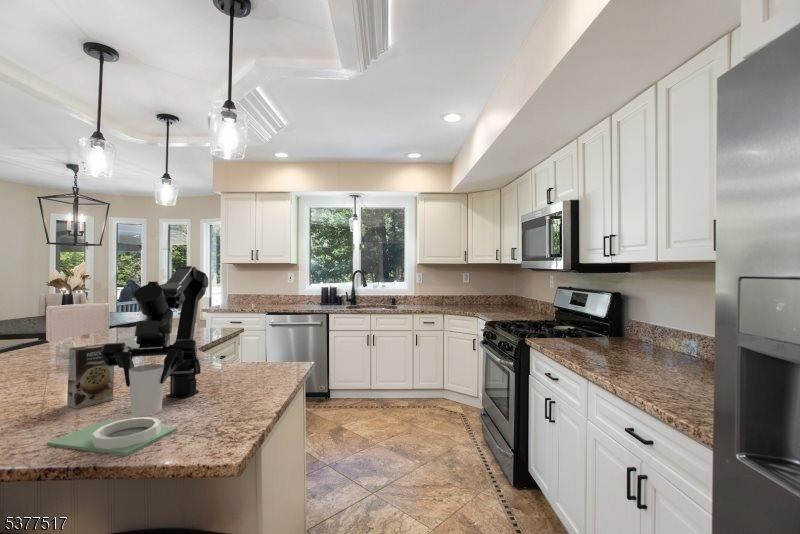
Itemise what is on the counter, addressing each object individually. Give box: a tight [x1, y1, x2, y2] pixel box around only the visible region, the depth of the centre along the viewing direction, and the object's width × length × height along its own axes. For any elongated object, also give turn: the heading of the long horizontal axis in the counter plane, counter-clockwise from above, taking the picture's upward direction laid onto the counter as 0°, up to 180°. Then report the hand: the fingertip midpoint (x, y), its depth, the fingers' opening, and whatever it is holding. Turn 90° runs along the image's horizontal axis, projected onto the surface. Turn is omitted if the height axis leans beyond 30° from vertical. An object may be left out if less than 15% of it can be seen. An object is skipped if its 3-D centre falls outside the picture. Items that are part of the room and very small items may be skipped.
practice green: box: [46, 416, 178, 457], centre depth 86 cm, size 21×13×3 cm, turn 77°
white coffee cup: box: [129, 363, 164, 418], centre depth 86 cm, size 7×7×10 cm
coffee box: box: [66, 343, 115, 410], centre depth 109 cm, size 9×6×16 cm
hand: (144, 384), depth 85 cm, fingers closed on white coffee cup, 6 cm apart
